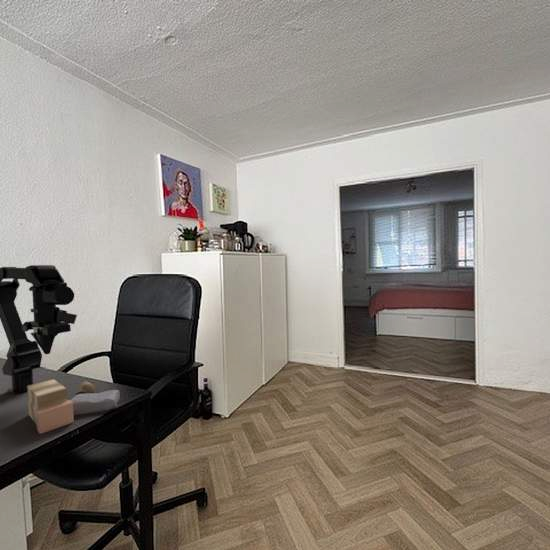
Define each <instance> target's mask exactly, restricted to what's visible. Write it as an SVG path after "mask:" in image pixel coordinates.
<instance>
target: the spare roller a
mask: <svg viewBox="0 0 550 550" xmlns="http://www.w3.org/2000/svg"><path fill="white" fill-rule="evenodd" d="M78 388H79V391H81V392H82V393H83V394H86V393H88V394H89V393H94V392H95V389H96V388H95V385H94V384H92V383H91V382H89V381H87V380H86V381H82V382H81V383H80V384H79V385H78Z"/></svg>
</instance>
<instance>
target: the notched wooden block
mask: <svg viewBox="0 0 550 550" xmlns="http://www.w3.org/2000/svg"><path fill="white" fill-rule="evenodd" d="M67 393H68V391H67V387H65V386H63V385H62V383H60V382H58V381H57V380H56V379H55V378H54V379H53V378H52V379H49V380H45V381H44V380H43V381H41V382H37V383H34V384H32V385H28V386H27V402H28V403H27V404H28V406H27V407H28V415H29V418H31V420H32V421H33V423H34V424H35V425H36V426H37V423H36V409H40V408H43V407H46V406H50V405H53V404H57V403H60V402H63V401H67V400H68V394H67Z"/></svg>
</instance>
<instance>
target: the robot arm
mask: <svg viewBox="0 0 550 550" xmlns="http://www.w3.org/2000/svg"><path fill="white" fill-rule="evenodd" d="M7 279H8V280H7ZM11 279H12V281H11ZM4 280H6V281H4ZM19 280H25V282H26V283H29V284H32V285H31V286H30V287H29V288H28V291H30V292H32V293H31V294H32V307H33V308H31V309H30V313H33V320H29V321H25V322H24V323H22V320H21V317H20V314H19V311H18V309H17V307H16V304H15V301H16V299H17V295H18V289H19V287H20V285H21V284H20V282H19ZM74 299H75V293H74V291H73V289H72V288H71V287H69V286H68V283H67V282H65V278H63V277H62V275H61V273H60V272H59V270H58V269H57V267H56V266H55V264H54V265H53V264H49V265H48V264H39V265H38V264H36V265H35V264H31V265H28V266H26V267H17V266H2V267H0V322H1V325H2V329H3V331H4V333H5V336H6V338H7V342H8V344H9V348H8V350H7V352H6V358H7V359H6V360H5V362H4V364H3V366H2V368H1V370H2V374H3V375H6V376H10V379H11V388H8V389H7V391H8V392H10V393H13V394H14V395H16V394H20V393H24V392H28V390H27V386H28V385H32V384H35V380H34V370H35V369H39V368H41V364H42V359H43V354H42V353H44V354H45V355H50V354H51V351H52V347H53V344H54V342H55V339H56V337H57V336H58V335H59V334H62V333H68V332H71V330H72V327H71V324H72V325H75V323H76V319H77V316H78V314H76V313H75V314H73V313H70V312H68V311H67V310H63V309H61V308H60V307H59V306H66V305H69V304H71V303H72V302H73V301H74ZM31 330H33V332H30V335H31V336H32V337H33V339H34V340H32V341H31V340H30V339H29V338H28V336H27V333H26V332H29V331H31ZM40 348H41V349H40Z"/></svg>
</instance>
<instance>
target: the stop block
mask: <svg viewBox="0 0 550 550" xmlns="http://www.w3.org/2000/svg"><path fill="white" fill-rule="evenodd" d="M70 400H71V399H67V401H63V402H60V403H57V404H53V405H50V406H46V407H43V408H40V409H36V423H37V425H36V430H37V432H38V434H39V435H41V434H44V433H47V432H50V431H52V430H57V429H58V428H62V427H64V426H67V425H70V424H73V423H74V422H75V421H74V418H75V417H74V416H75V415H73V402H71V401H70Z"/></svg>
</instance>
